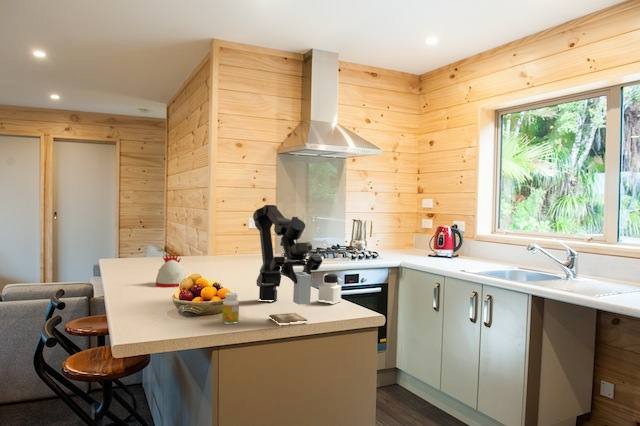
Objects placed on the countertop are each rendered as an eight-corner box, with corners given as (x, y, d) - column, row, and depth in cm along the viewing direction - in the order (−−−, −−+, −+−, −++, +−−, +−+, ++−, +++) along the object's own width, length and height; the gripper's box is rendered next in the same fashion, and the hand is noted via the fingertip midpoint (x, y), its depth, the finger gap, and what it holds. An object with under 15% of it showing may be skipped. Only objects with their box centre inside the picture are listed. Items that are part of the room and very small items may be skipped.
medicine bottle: (340, 302, 197) (342, 274, 197) (332, 305, 191) (333, 276, 191) (326, 300, 201) (327, 272, 200) (317, 302, 194) (319, 274, 194)
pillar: (293, 301, 164) (294, 271, 164) (304, 300, 166) (305, 271, 166) (298, 304, 160) (299, 273, 160) (310, 303, 162) (311, 273, 162)
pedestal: (279, 326, 155) (280, 321, 155) (269, 319, 164) (269, 314, 164) (306, 323, 160) (307, 319, 160) (295, 316, 168) (295, 312, 168)
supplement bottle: (219, 321, 157) (220, 293, 157) (232, 319, 161) (233, 291, 161) (227, 325, 154) (229, 296, 153) (241, 322, 157) (242, 294, 157)
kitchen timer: (154, 282, 224) (155, 251, 224) (183, 281, 230) (184, 251, 230) (157, 288, 212) (158, 255, 211) (188, 286, 217) (189, 254, 217)
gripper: (274, 233, 163) (285, 269, 153) (321, 234, 172) (334, 268, 162) (265, 253, 170) (275, 289, 161) (311, 252, 179) (323, 286, 169)
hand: (302, 282), depth 163 cm, fingers closed on pillar, 4 cm apart
